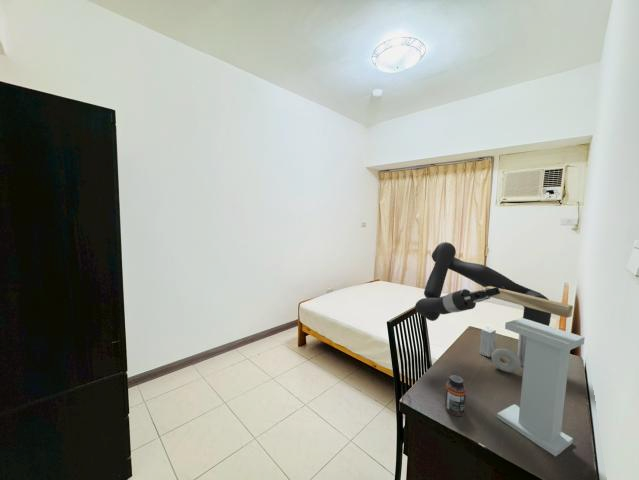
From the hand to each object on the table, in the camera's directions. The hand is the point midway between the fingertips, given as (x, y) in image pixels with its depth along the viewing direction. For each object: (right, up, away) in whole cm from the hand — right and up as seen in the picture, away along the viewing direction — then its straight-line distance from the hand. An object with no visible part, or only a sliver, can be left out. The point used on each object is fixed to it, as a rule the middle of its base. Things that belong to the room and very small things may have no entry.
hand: (501, 289), depth 85 cm
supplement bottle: (-16, -41, 0) cm, 44 cm away
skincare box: (+20, -39, +38) cm, 58 cm away
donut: (+18, -40, +23) cm, 50 cm away
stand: (+4, -42, -7) cm, 43 cm away
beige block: (+3, -4, -6) cm, 7 cm away
